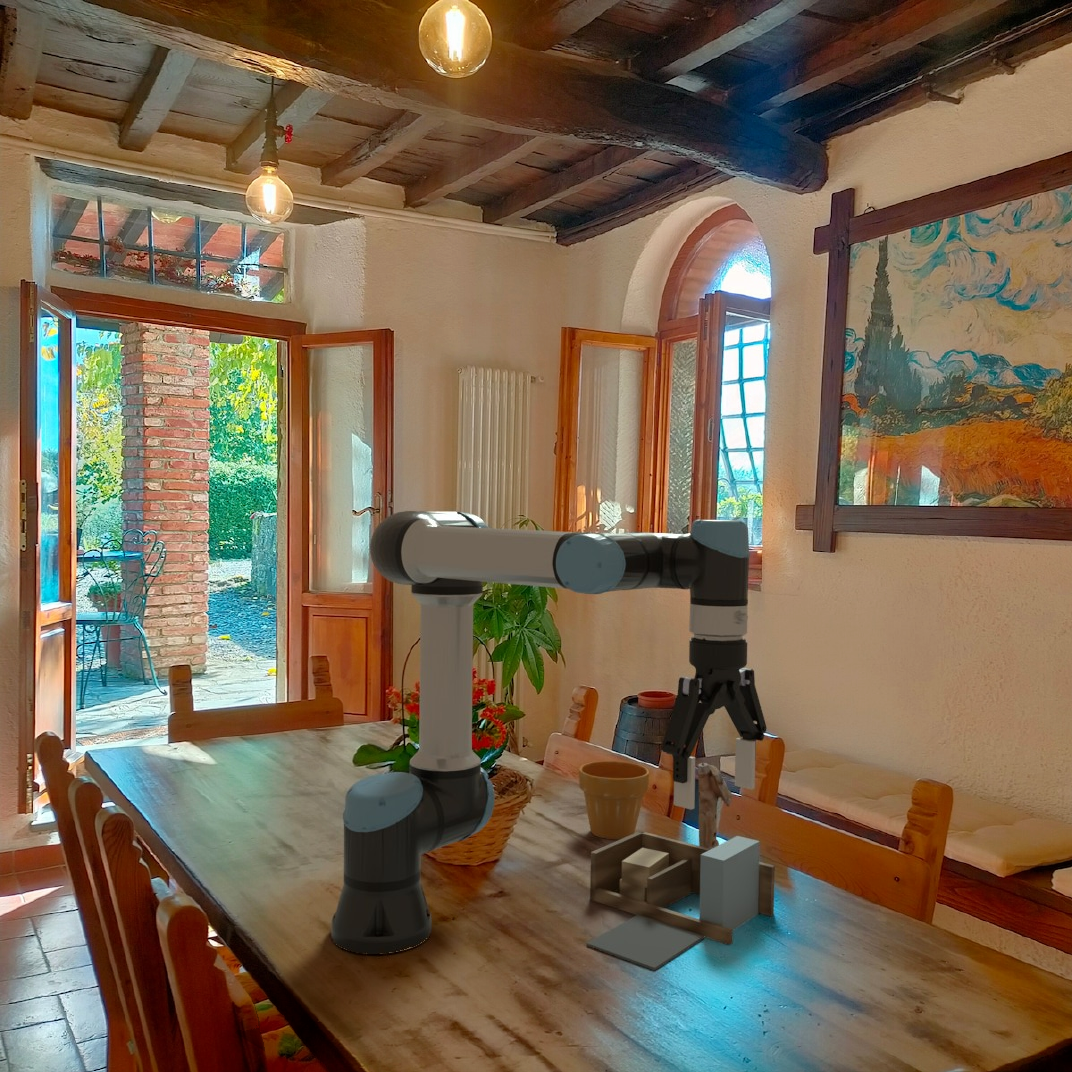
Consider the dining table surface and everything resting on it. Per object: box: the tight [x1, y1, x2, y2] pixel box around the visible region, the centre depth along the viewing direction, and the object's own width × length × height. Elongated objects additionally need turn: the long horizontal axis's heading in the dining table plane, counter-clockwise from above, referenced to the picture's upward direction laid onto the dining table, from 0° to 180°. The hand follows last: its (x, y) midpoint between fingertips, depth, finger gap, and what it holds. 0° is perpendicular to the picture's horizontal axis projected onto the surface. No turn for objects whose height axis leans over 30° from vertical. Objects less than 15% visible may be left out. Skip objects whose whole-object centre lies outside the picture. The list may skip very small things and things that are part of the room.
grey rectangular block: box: [698, 835, 761, 932], centre depth 154 cm, size 4×12×12 cm, turn 140°
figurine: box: [697, 762, 733, 849], centre depth 176 cm, size 10×8×20 cm
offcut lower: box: [619, 879, 647, 903], centre depth 164 cm, size 5×8×4 cm, turn 140°
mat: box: [586, 914, 705, 971], centre depth 147 cm, size 12×14×1 cm
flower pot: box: [578, 760, 650, 840], centre depth 197 cm, size 14×14×13 cm
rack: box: [589, 830, 776, 946], centre depth 160 cm, size 26×15×8 cm, turn 50°
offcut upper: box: [622, 848, 669, 888], centre depth 164 cm, size 5×8×4 cm, turn 148°
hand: (715, 796), depth 128 cm, fingers open, 13 cm apart
